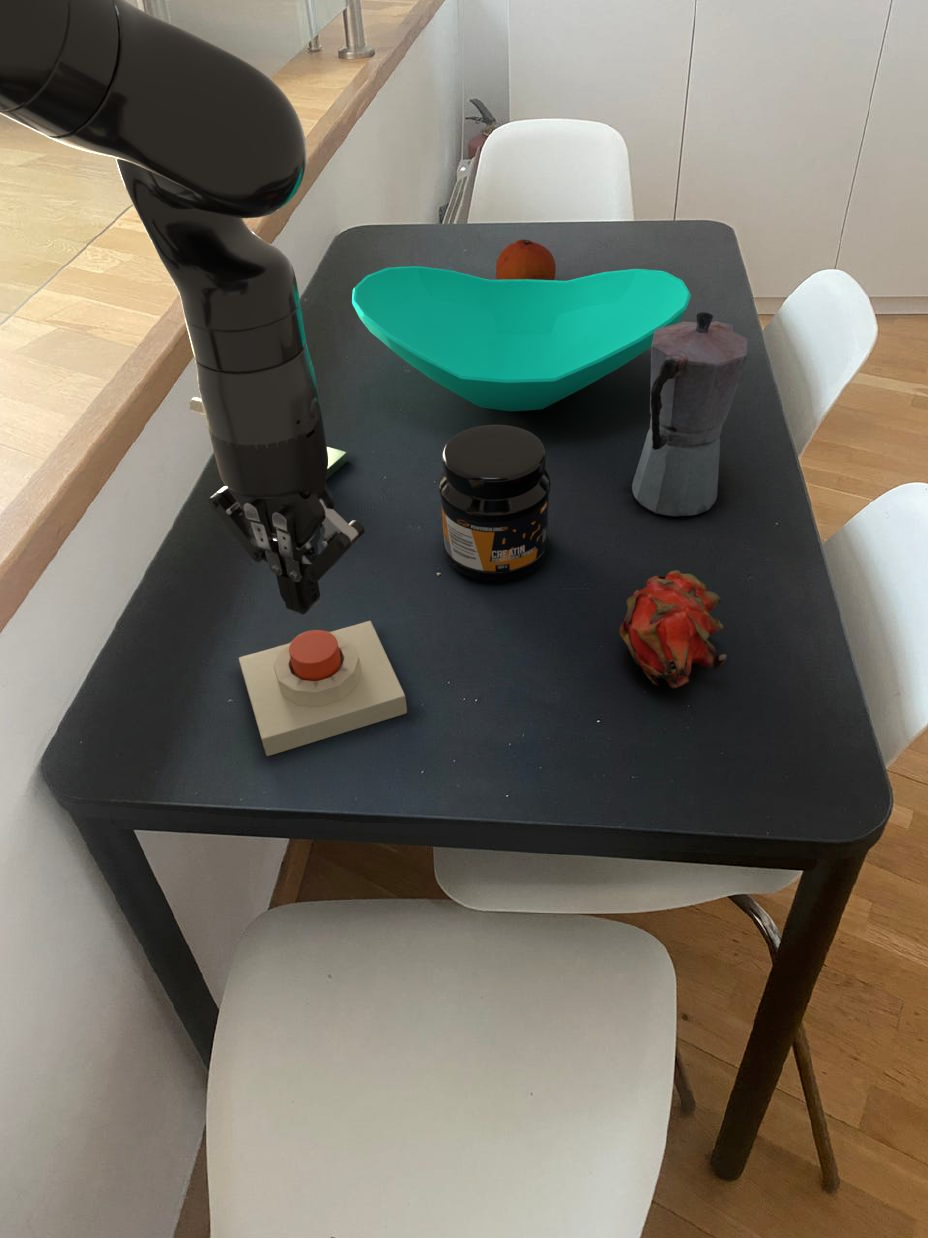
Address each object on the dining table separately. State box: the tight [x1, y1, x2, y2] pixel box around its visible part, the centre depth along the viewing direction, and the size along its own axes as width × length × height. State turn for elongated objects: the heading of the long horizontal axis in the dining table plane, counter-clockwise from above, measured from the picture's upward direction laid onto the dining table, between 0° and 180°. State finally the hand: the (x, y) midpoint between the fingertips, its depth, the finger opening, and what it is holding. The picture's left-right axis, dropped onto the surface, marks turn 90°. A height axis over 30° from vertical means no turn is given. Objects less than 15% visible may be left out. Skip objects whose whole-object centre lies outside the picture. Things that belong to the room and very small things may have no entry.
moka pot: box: [631, 311, 749, 517], centre depth 91 cm, size 10×15×20 cm, turn 148°
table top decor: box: [351, 265, 692, 412], centre depth 112 cm, size 40×28×13 cm
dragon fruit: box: [619, 569, 727, 689], centre depth 78 cm, size 8×8×12 cm
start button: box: [289, 629, 341, 681], centre depth 76 cm, size 4×4×2 cm
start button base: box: [238, 620, 408, 757], centre depth 78 cm, size 12×10×4 cm
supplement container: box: [438, 424, 551, 582], centre depth 88 cm, size 10×10×12 cm
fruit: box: [495, 239, 557, 280], centre depth 136 cm, size 9×9×8 cm
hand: (302, 605), depth 73 cm, fingers closed
